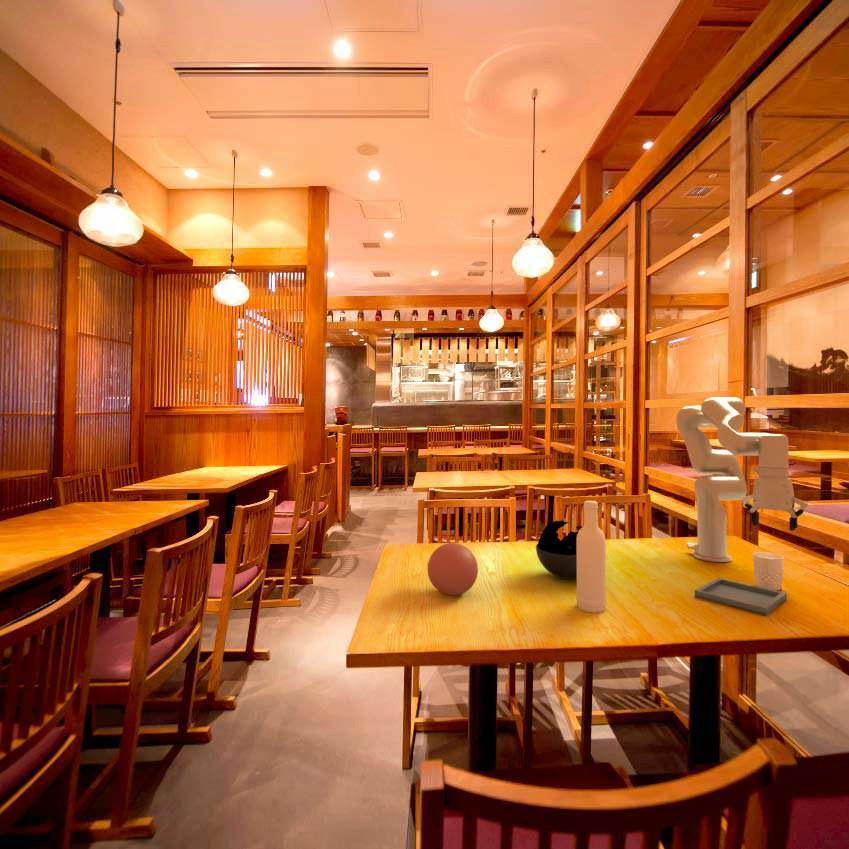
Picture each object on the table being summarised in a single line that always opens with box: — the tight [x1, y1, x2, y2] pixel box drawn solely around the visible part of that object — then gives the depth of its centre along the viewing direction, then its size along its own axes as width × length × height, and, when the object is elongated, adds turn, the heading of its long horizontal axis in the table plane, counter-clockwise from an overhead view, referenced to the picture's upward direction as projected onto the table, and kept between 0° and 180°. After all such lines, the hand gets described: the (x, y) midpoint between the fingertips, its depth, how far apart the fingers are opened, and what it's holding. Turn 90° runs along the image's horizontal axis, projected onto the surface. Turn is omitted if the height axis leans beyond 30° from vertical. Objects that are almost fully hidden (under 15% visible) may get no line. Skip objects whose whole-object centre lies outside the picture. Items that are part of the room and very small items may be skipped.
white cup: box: [752, 551, 785, 591], centre depth 150 cm, size 8×8×10 cm
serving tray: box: [694, 577, 788, 617], centre depth 140 cm, size 18×18×2 cm
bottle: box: [576, 500, 607, 614], centre depth 134 cm, size 8×8×30 cm
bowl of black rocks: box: [535, 520, 583, 580], centre depth 160 cm, size 20×20×19 cm
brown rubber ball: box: [427, 542, 479, 596], centre depth 148 cm, size 15×20×15 cm
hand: (773, 527), depth 150 cm, fingers open, 9 cm apart
